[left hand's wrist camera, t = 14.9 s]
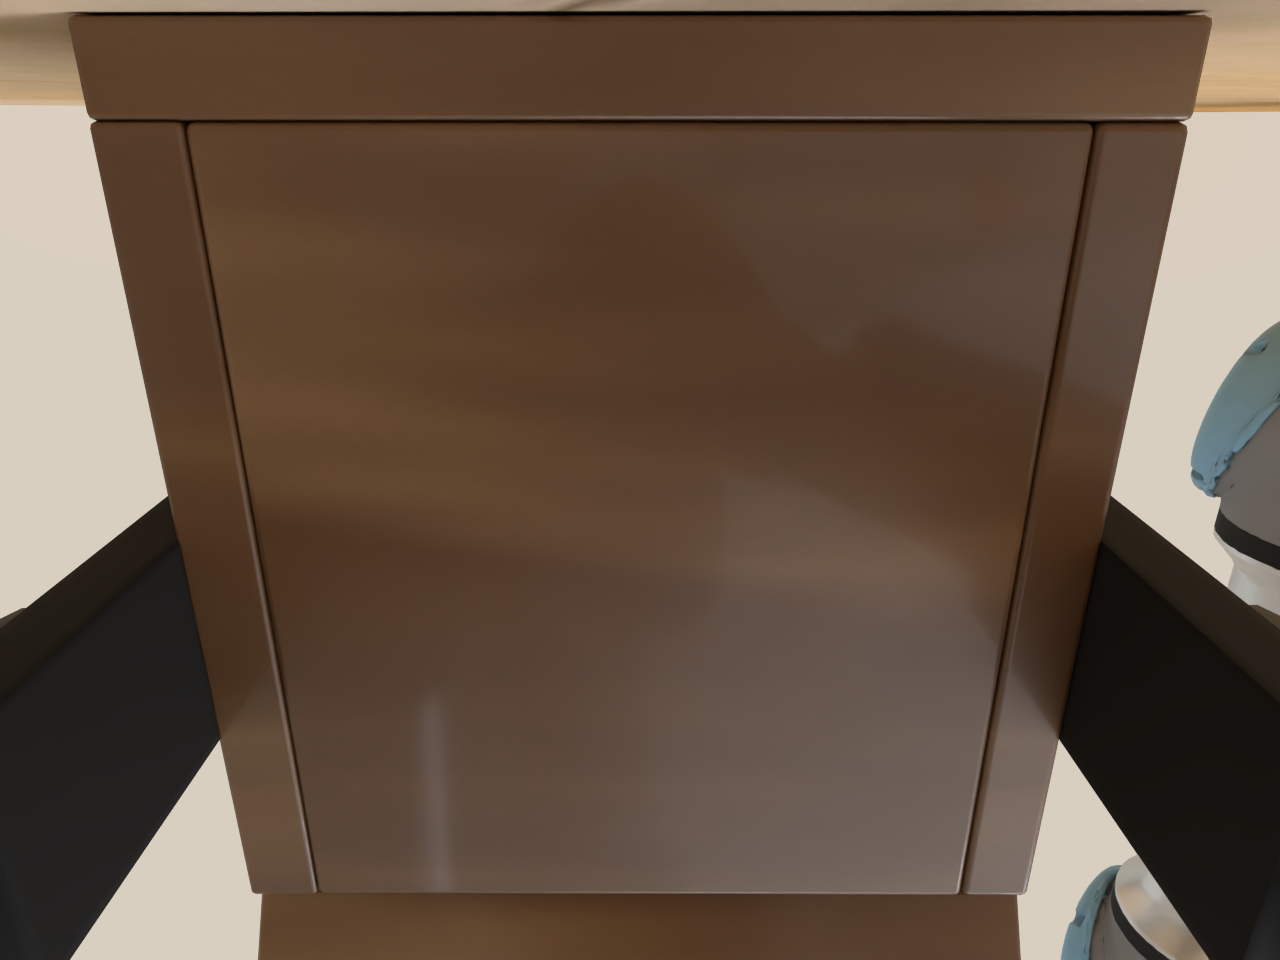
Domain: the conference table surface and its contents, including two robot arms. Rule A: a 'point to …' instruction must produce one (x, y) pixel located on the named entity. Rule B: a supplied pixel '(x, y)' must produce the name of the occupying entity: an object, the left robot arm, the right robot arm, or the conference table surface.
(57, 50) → the conference table surface
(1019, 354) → the chest
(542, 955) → the lid
